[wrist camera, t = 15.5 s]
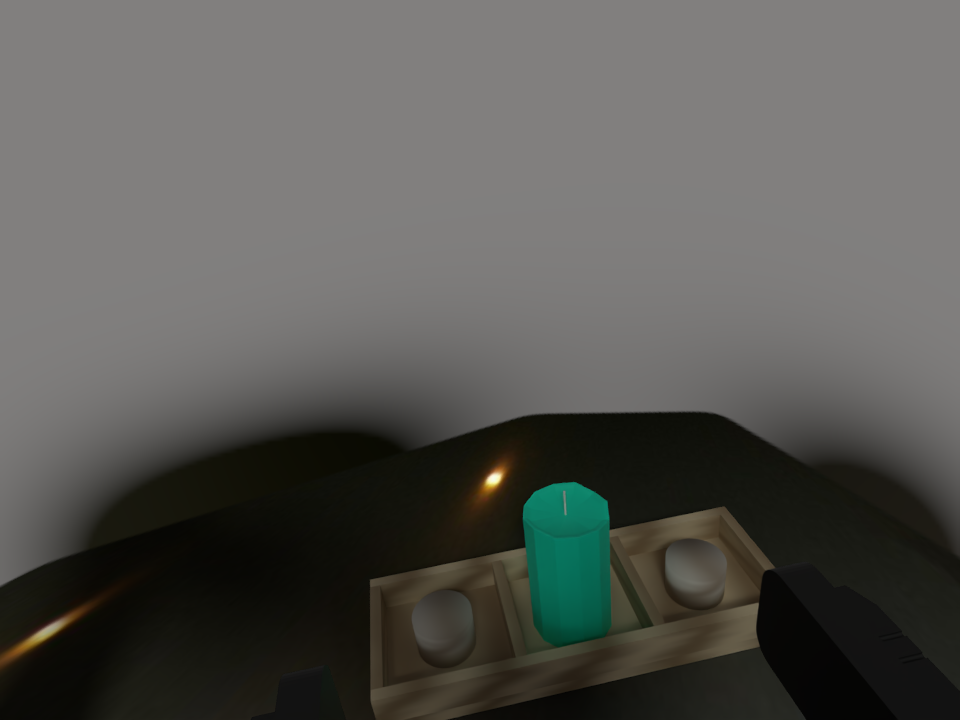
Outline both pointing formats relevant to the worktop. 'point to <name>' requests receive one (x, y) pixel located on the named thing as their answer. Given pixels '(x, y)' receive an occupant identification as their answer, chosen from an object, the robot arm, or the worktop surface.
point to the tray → (520, 648)
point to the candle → (568, 563)
